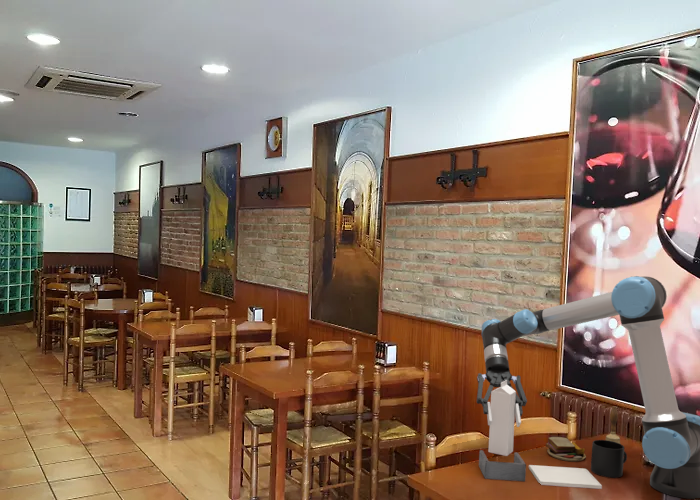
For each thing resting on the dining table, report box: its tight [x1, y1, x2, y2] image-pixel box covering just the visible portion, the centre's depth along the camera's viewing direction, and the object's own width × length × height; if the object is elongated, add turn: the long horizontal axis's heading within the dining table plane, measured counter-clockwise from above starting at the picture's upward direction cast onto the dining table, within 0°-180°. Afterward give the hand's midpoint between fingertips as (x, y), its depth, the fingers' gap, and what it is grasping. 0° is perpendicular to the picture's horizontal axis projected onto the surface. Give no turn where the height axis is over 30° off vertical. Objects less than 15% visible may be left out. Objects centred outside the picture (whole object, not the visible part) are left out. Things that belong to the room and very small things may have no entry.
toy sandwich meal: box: [545, 436, 587, 462], centre depth 217 cm, size 12×14×5 cm
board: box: [528, 464, 603, 490], centre depth 195 cm, size 18×14×1 cm
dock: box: [478, 449, 527, 482], centre depth 196 cm, size 12×11×5 cm
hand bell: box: [605, 405, 621, 444], centre depth 224 cm, size 8×8×16 cm
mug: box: [590, 439, 628, 479], centre depth 202 cm, size 9×12×9 cm
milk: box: [488, 380, 517, 457], centre depth 196 cm, size 6×6×22 cm
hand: (504, 423), depth 193 cm, fingers closed on milk, 8 cm apart
